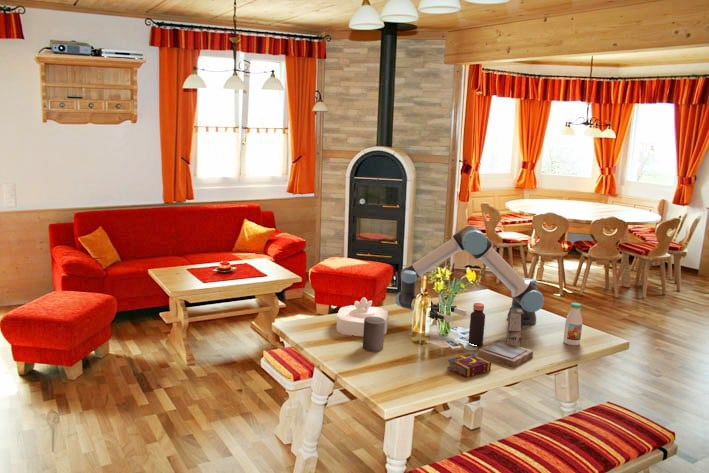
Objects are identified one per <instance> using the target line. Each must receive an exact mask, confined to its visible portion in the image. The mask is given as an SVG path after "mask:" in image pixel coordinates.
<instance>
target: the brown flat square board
mask: <svg viewBox="0 0 709 473" xmlns="http://www.w3.org/2000/svg"><path fill="white" fill-rule="evenodd" d="M477 355H478V356H479V357H481V358H484V359H486V360H489V361H493V362H496V363H498V364H499V363H500V364H501V365H502V364H503V365H505V366H509V367H511V368H515V367H517V366H518V365H519V366H520V365H521V364H522V363H524V362H525V361H528V360H529V359H531V358H533V356H534V350H531V349H529V348H524V347H523V346H522V347H521V346H516V345H513V344H509V343H507V341H502V340H499V339H498V340H495V341H494V342H491V343H489V344H486V345H485V346H484V347H483V346H482V347H480V348H479V349H478V351H477Z"/></svg>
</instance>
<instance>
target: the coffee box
mask: <svg viewBox="0 0 709 473" xmlns="http://www.w3.org/2000/svg"><path fill="white" fill-rule="evenodd" d="M508 312H509V320H508V319H507V320H508V321H507V323H508V324H507V332H506V343H509V344H513V345H516V346H519V347H521V345H522V344H521V343H522V335H523V318H524V312H523V309H521V308H511V307H509V310H508Z"/></svg>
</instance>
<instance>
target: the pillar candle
mask: <svg viewBox="0 0 709 473" xmlns="http://www.w3.org/2000/svg"><path fill="white" fill-rule="evenodd" d="M384 329H385V320H384V319H383V318H380V317H374V316H371V317H366V318H365V319H364V332H363V336H362V350H365V351H367V352H372V353H375V352H377V353H378V352H381V351H383V350H384V341H385V340H384V339H385V334H384Z"/></svg>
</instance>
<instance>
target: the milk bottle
mask: <svg viewBox="0 0 709 473" xmlns="http://www.w3.org/2000/svg"><path fill="white" fill-rule="evenodd" d="M581 310H582V304H581V303H578V302H571V303H570V311H569V313H568V314H567V316H566V319H565V325H564V332H563V343H564V344H565V345H569V346H579V345H580V344H581V338H582V331H583V330H582V329H583V317H582V313H581Z"/></svg>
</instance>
